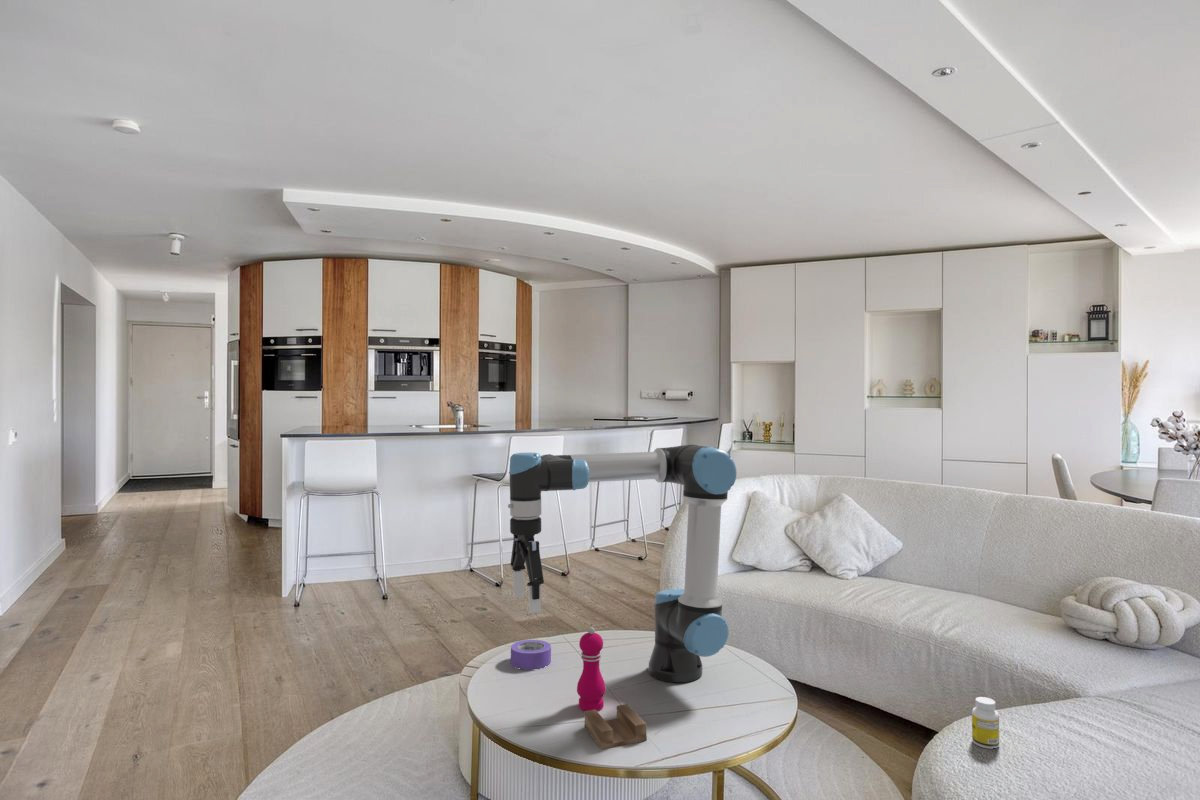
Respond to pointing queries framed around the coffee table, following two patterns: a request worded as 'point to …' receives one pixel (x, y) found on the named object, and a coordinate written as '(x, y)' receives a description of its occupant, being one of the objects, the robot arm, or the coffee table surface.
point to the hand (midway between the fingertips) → (526, 604)
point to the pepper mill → (591, 672)
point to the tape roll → (530, 654)
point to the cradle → (615, 727)
